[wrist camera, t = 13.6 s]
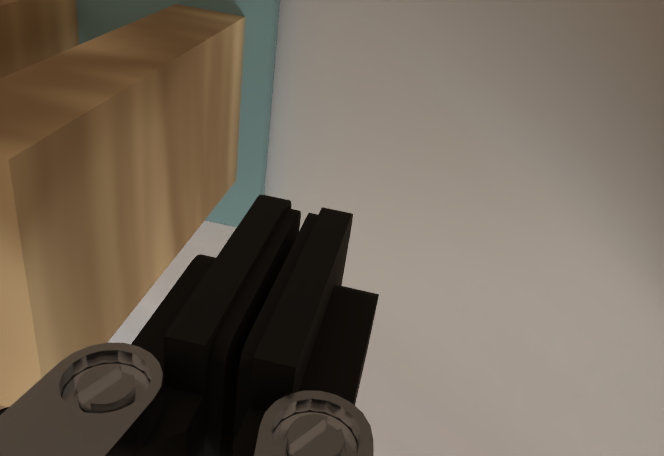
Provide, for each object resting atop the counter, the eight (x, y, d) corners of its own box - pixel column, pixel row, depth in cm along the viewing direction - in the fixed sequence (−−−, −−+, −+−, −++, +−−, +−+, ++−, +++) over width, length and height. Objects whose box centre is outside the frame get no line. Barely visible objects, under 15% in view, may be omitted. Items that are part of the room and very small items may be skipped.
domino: (245, 16, 17) (8, 159, 8) (236, 180, 19) (47, 418, 11) (175, 4, 17) (-124, 131, 9) (175, 167, 20) (-56, 390, 11)
